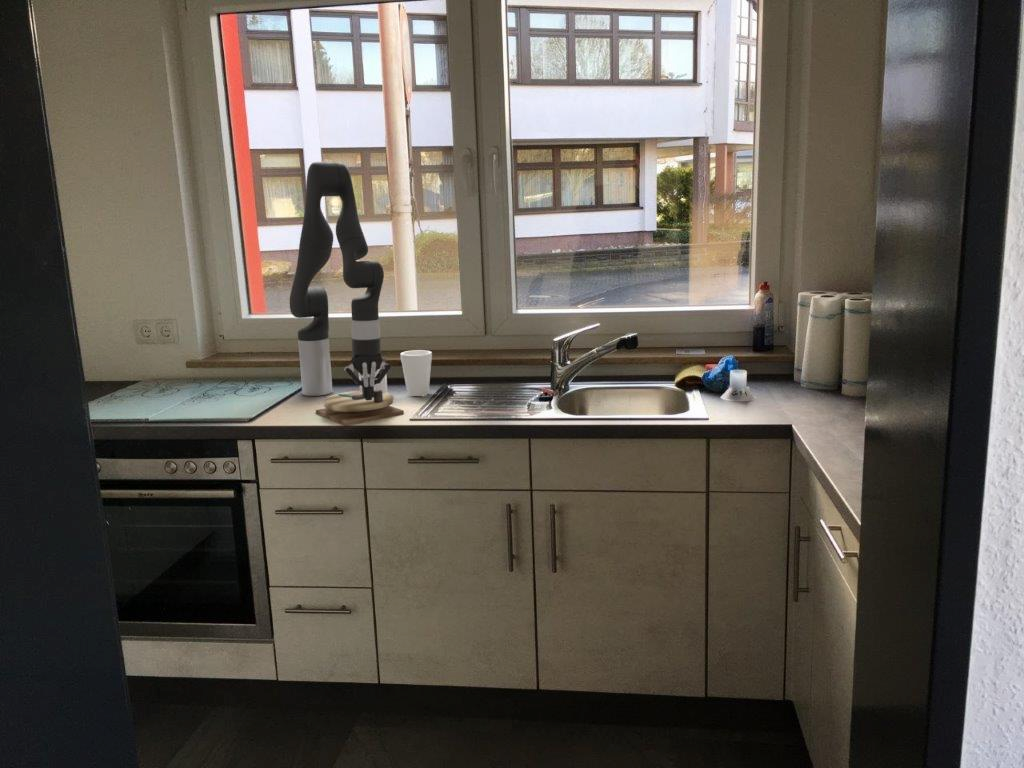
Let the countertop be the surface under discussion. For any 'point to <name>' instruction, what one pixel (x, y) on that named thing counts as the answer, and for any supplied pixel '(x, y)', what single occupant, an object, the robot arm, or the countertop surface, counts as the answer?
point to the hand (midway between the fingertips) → (368, 399)
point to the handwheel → (357, 401)
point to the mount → (359, 415)
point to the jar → (382, 384)
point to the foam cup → (417, 371)
